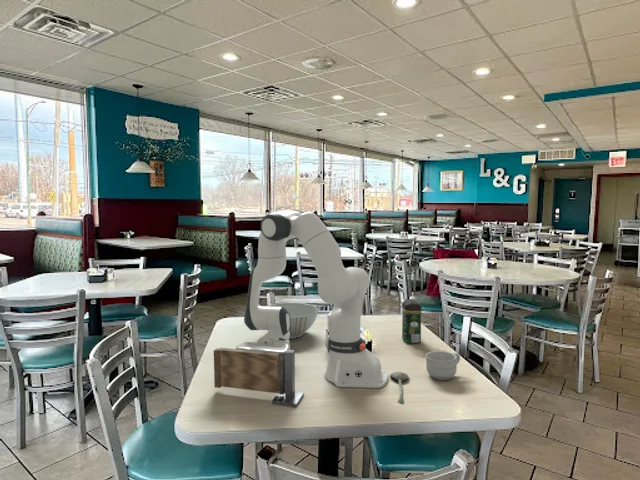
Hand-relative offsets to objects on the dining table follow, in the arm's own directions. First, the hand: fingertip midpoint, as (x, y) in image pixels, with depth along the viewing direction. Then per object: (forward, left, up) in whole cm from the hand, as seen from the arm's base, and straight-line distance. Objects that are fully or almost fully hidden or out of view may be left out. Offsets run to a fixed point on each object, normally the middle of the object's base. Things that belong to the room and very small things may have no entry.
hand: (254, 359), depth 148 cm
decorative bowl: (+3, -49, -7) cm, 49 cm away
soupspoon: (-51, -5, -7) cm, 52 cm away
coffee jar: (-53, -54, -7) cm, 76 cm away
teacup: (-66, -18, -7) cm, 69 cm away
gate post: (-17, +13, -7) cm, 23 cm away
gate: (-4, +13, -5) cm, 15 cm away
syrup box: (-21, -39, -7) cm, 45 cm away
